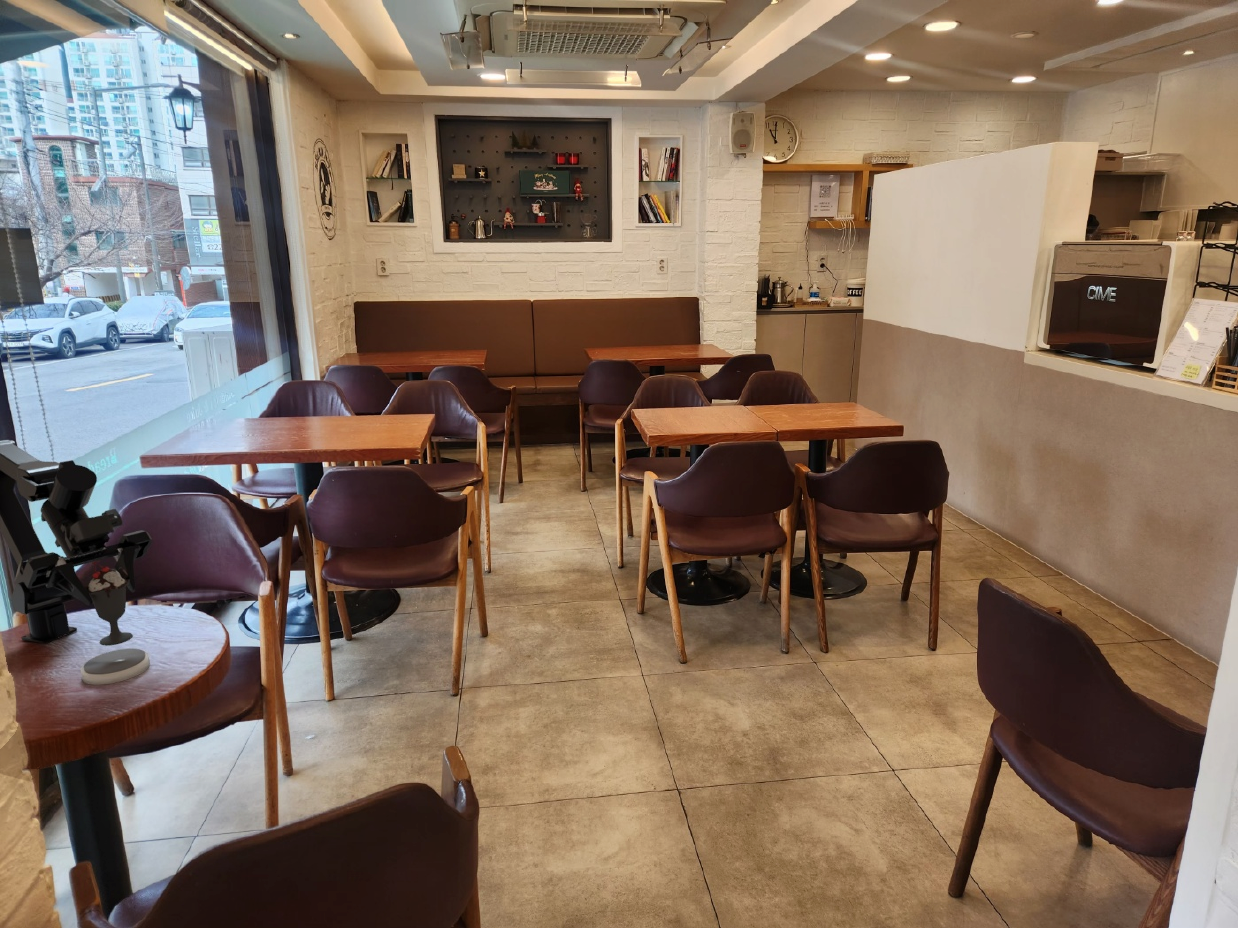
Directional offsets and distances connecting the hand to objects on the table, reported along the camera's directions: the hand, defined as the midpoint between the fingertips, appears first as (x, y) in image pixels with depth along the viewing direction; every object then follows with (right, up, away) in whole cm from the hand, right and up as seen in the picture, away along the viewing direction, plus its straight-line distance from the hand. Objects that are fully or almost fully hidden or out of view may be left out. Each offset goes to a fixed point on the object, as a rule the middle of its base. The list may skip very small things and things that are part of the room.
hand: (112, 597), depth 133 cm
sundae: (-1, -8, +3) cm, 8 cm away
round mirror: (-1, -13, +3) cm, 14 cm away
